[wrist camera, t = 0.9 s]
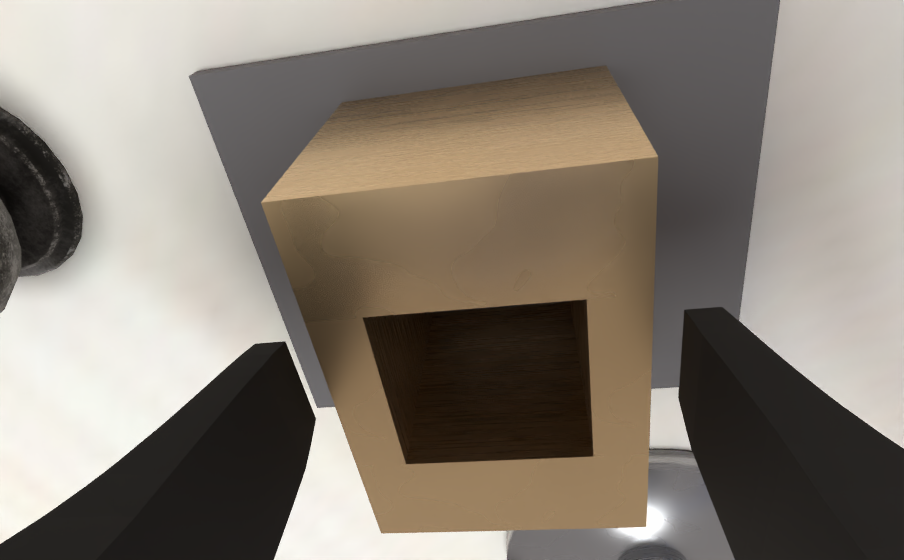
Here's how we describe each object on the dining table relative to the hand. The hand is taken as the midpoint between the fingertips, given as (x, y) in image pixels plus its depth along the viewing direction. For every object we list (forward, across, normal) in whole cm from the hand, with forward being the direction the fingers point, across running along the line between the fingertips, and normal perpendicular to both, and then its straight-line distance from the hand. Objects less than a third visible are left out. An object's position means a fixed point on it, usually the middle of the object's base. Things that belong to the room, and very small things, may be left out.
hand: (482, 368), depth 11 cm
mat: (+5, 0, 0) cm, 5 cm away
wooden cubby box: (+4, 0, 0) cm, 4 cm away
